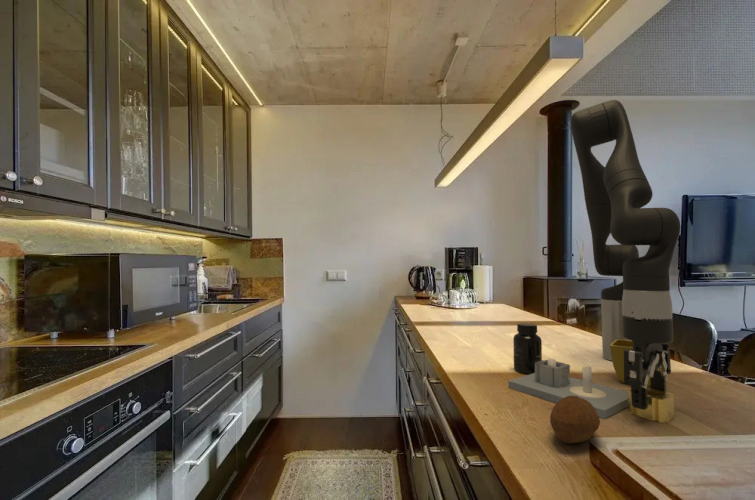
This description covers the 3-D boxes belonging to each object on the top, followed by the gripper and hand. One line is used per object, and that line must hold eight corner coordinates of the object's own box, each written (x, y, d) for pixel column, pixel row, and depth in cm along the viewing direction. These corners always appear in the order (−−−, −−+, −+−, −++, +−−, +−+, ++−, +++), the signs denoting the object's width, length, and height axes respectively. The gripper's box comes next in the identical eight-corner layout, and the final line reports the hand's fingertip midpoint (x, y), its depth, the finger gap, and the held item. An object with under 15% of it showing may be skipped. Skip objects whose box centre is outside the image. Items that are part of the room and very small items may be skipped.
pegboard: (543, 376, 89) (543, 349, 90) (637, 401, 73) (636, 369, 73) (508, 387, 81) (508, 358, 82) (604, 418, 65) (603, 382, 65)
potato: (603, 431, 60) (602, 389, 60) (597, 463, 51) (596, 413, 51) (558, 421, 64) (557, 382, 64) (545, 449, 55) (544, 402, 55)
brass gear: (639, 405, 71) (638, 385, 71) (676, 416, 66) (675, 393, 66) (626, 412, 67) (625, 391, 68) (664, 424, 63) (663, 400, 63)
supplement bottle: (545, 375, 90) (544, 327, 90) (516, 374, 91) (515, 326, 92) (538, 367, 97) (537, 322, 97) (511, 366, 98) (511, 322, 98)
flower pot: (610, 383, 84) (609, 344, 84) (617, 374, 90) (616, 338, 91) (657, 392, 78) (656, 350, 78) (662, 382, 84) (660, 343, 85)
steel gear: (547, 376, 84) (546, 359, 84) (572, 383, 79) (571, 364, 80) (532, 381, 81) (532, 363, 81) (557, 388, 76) (557, 369, 76)
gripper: (639, 309, 74) (641, 389, 74) (606, 315, 66) (609, 404, 66) (685, 313, 68) (688, 401, 68) (655, 320, 60) (658, 419, 60)
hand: (649, 402), depth 67 cm, fingers open, 8 cm apart
